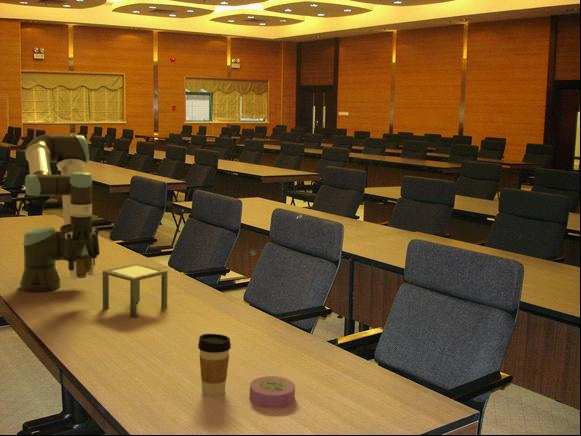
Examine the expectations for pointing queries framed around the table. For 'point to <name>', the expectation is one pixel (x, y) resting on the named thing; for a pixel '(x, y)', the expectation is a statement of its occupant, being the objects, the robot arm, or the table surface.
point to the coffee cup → (214, 363)
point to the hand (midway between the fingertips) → (81, 276)
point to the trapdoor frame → (134, 287)
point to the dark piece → (82, 265)
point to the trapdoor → (134, 271)
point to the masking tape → (272, 392)
